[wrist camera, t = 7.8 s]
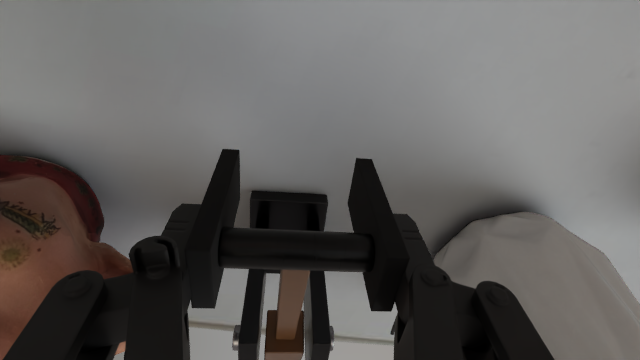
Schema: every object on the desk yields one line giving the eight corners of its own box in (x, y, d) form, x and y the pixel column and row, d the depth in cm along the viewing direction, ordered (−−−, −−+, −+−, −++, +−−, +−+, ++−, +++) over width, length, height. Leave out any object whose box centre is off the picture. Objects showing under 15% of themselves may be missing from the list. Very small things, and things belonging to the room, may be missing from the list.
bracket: (251, 190, 27) (227, 322, 17) (326, 194, 28) (345, 323, 18) (251, 263, 31) (231, 403, 21) (316, 265, 32) (326, 401, 22)
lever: (224, 208, 12) (213, 269, 11) (370, 215, 13) (379, 274, 12) (241, 324, 22) (237, 365, 21) (324, 325, 23) (326, 364, 21)
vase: (387, 275, 33) (447, 471, 20) (500, 169, 27) (682, 348, 15) (483, 319, 38) (580, 499, 25) (596, 236, 32) (797, 415, 19)
